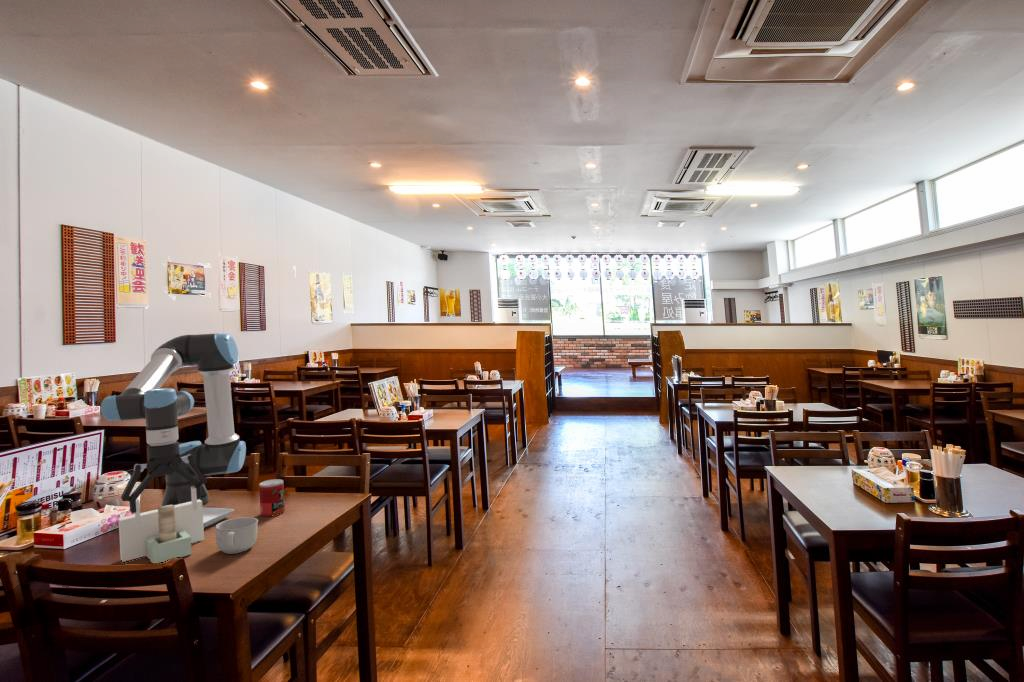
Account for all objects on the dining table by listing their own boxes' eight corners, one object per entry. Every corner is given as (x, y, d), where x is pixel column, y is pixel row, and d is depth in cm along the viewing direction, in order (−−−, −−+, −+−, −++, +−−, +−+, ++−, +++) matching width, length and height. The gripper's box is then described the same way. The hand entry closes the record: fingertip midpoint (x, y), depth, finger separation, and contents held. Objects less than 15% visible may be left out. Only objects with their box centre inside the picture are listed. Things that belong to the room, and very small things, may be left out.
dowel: (158, 556, 142) (156, 507, 142) (175, 551, 145) (172, 503, 144) (162, 560, 139) (159, 510, 139) (178, 555, 142) (176, 506, 142)
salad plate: (236, 517, 173) (236, 507, 173) (184, 542, 152) (183, 531, 152) (186, 515, 177) (185, 505, 177) (128, 539, 156) (128, 528, 156)
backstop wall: (120, 560, 140) (118, 518, 140) (201, 537, 154) (199, 499, 154) (122, 563, 138) (120, 520, 138) (204, 539, 152) (202, 501, 152)
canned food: (275, 517, 169) (274, 485, 169) (255, 516, 171) (253, 485, 171) (289, 509, 177) (288, 479, 177) (270, 509, 179) (268, 478, 178)
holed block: (147, 556, 141) (146, 538, 141) (183, 545, 148) (183, 529, 148) (153, 565, 135) (152, 547, 135) (191, 554, 142) (190, 536, 141)
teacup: (228, 543, 149) (226, 517, 149) (265, 540, 150) (264, 514, 150) (203, 564, 135) (201, 535, 135) (244, 561, 136) (243, 532, 136)
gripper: (109, 453, 130) (114, 533, 131) (215, 436, 148) (219, 506, 148) (105, 449, 135) (110, 526, 136) (208, 433, 153) (212, 501, 154)
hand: (167, 516), depth 142 cm, fingers open, 13 cm apart
